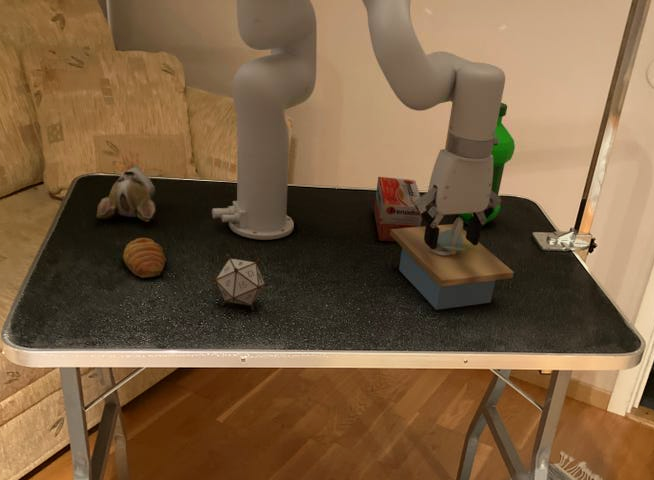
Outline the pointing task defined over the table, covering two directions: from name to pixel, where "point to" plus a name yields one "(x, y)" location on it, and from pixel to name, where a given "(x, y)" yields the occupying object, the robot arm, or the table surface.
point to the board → (451, 258)
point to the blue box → (444, 287)
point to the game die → (240, 281)
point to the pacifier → (450, 239)
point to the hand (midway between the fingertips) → (451, 243)
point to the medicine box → (395, 206)
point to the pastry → (144, 257)
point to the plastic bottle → (497, 160)
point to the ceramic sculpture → (129, 197)
